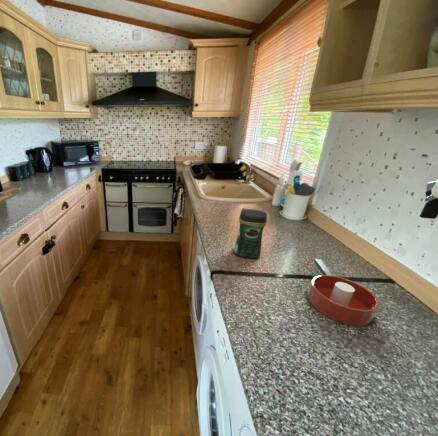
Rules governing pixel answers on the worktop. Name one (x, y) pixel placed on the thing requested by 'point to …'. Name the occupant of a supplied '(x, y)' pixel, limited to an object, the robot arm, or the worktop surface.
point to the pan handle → (322, 267)
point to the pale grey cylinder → (342, 293)
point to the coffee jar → (250, 233)
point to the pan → (352, 315)
